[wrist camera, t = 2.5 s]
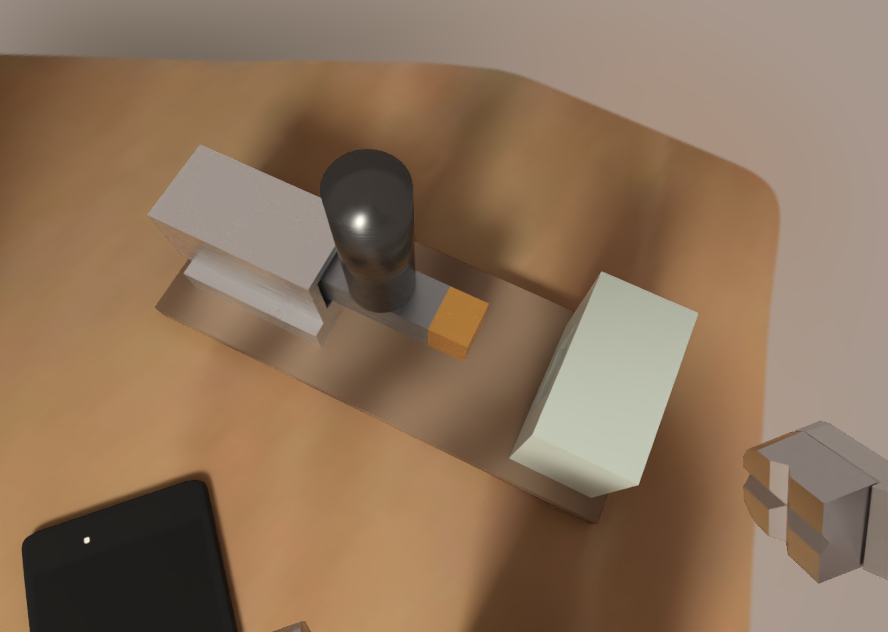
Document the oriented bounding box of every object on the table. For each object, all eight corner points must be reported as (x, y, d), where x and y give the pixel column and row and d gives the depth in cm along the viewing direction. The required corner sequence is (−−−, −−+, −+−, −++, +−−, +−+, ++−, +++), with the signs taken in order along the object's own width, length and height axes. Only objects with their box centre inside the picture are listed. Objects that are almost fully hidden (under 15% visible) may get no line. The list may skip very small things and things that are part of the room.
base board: (162, 313, 34) (154, 307, 33) (256, 178, 37) (252, 168, 36) (591, 523, 31) (597, 523, 30) (653, 354, 34) (660, 349, 33)
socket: (508, 458, 31) (532, 434, 24) (565, 325, 34) (601, 271, 27) (590, 497, 30) (638, 485, 24) (642, 360, 33) (698, 313, 26)
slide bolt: (199, 247, 31) (99, 114, 22) (233, 199, 33) (151, 52, 23) (460, 369, 30) (478, 284, 20) (487, 314, 31) (516, 208, 21)
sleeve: (186, 282, 34) (136, 228, 28) (244, 199, 36) (209, 132, 30) (321, 347, 33) (299, 304, 27) (373, 257, 35) (363, 199, 29)
